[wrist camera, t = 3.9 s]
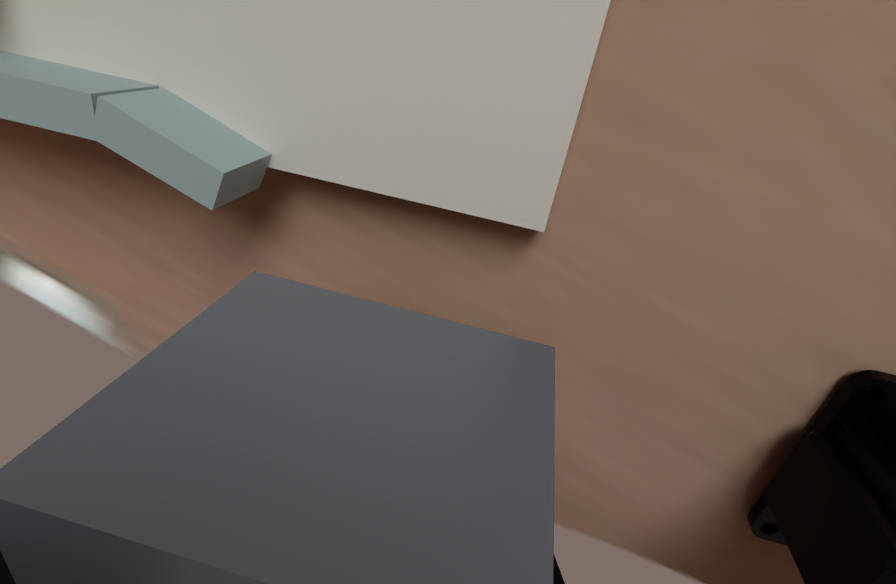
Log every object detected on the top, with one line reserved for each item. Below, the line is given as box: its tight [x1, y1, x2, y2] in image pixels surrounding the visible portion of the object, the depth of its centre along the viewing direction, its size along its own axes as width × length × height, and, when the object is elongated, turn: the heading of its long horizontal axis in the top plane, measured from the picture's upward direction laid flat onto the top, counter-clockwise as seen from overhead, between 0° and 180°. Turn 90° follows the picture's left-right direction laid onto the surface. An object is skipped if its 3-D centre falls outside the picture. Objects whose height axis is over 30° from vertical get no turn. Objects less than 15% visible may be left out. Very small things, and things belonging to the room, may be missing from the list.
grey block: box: [0, 271, 555, 584], centre depth 8 cm, size 6×6×5 cm
